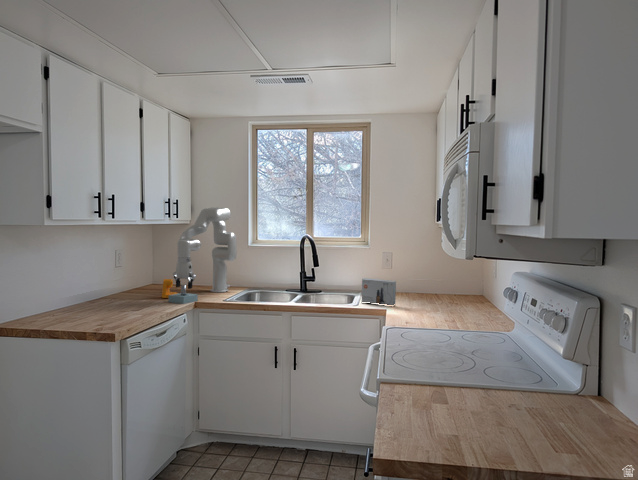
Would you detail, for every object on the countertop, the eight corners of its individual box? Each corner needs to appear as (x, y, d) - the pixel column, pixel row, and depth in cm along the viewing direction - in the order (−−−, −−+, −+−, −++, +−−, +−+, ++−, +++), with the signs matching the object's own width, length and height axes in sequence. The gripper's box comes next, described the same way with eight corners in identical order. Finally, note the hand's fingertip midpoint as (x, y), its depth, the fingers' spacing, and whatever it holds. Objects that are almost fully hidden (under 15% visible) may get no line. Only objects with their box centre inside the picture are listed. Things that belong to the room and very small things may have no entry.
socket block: (182, 298, 269) (183, 292, 269) (197, 300, 264) (197, 294, 264) (168, 301, 258) (168, 295, 258) (183, 303, 253) (183, 297, 253)
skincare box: (360, 303, 270) (361, 278, 269) (364, 302, 274) (364, 277, 274) (393, 307, 260) (393, 281, 259) (395, 306, 265) (396, 280, 264)
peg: (183, 300, 263) (183, 284, 263) (186, 301, 262) (187, 285, 262) (179, 301, 261) (179, 285, 260) (183, 302, 259) (183, 285, 259)
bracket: (173, 299, 268) (173, 280, 267) (161, 299, 267) (162, 280, 267) (177, 296, 278) (177, 278, 278) (166, 296, 278) (166, 277, 277)
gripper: (199, 260, 260) (199, 288, 261) (177, 258, 268) (178, 285, 269) (190, 261, 253) (190, 290, 254) (168, 259, 261) (169, 287, 262)
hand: (184, 287), depth 262 cm, fingers open, 9 cm apart
